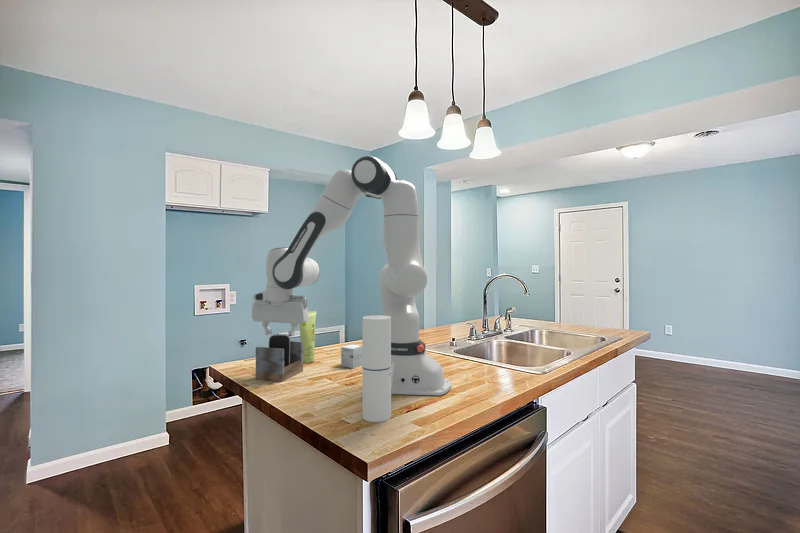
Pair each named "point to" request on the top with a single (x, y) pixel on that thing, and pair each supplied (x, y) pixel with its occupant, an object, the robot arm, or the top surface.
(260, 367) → the cradle
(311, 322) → the tube
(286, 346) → the battery
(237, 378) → the top surface
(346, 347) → the skincare box
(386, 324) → the cylindrical container
